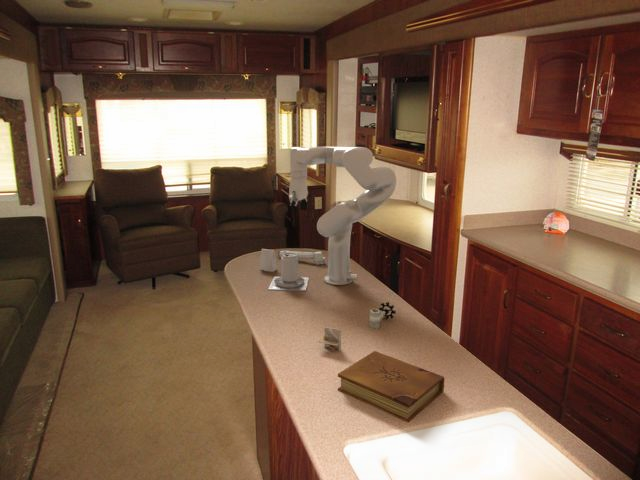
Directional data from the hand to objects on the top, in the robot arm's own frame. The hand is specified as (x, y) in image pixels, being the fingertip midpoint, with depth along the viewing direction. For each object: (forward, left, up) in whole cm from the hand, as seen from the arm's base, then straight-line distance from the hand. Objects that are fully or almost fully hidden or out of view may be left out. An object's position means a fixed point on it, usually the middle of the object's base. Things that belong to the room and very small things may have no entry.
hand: (298, 212), depth 238 cm
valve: (-53, +41, -29) cm, 73 cm away
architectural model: (-45, +67, -29) cm, 85 cm away
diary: (-70, +83, -29) cm, 112 cm away
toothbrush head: (+6, -14, -29) cm, 33 cm away
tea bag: (+14, +5, -29) cm, 32 cm away
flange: (-4, +18, -28) cm, 34 cm away
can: (-4, +18, -27) cm, 33 cm away
